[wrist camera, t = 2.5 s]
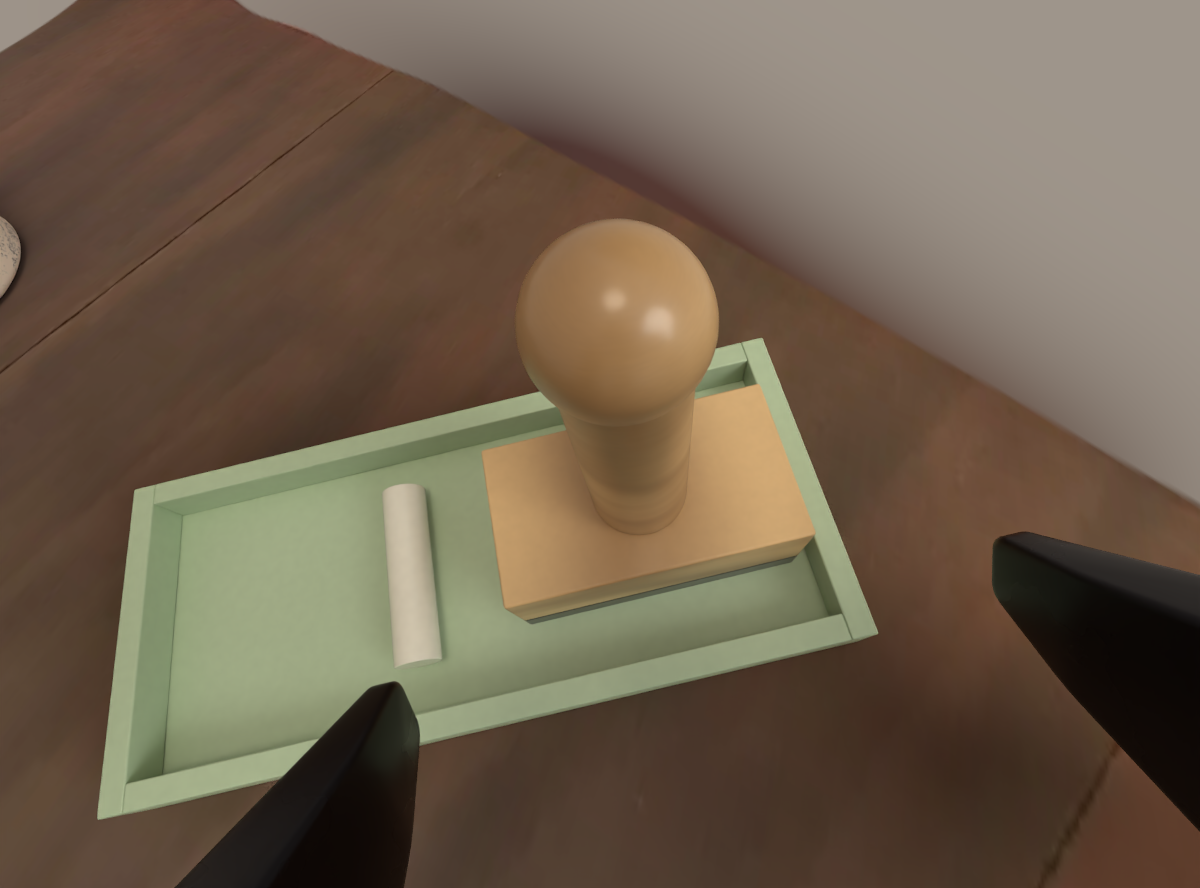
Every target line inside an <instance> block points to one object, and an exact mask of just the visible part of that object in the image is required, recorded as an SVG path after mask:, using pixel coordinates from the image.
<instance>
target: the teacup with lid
mask: <svg viewBox="0 0 1200 888" xmlns="http://www.w3.org/2000/svg"><path fill="white" fill-rule="evenodd" d="M20 256H21V246H20V241H19V237H18V235H17V233H16V231H15V229H14V228H13V227H12V226H11V225H10V224H9V223H8V222H7V221H6V220H5V219H4V218H2V217H1V216H0V298H1V297H2V296H3V294H4V293H5V292H6V290H7V289H8V287H9V286H10V284H11V282H12V280H13V278H14V276H15V274H16V272H17V269H18V266H19V262H20Z"/></svg>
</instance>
